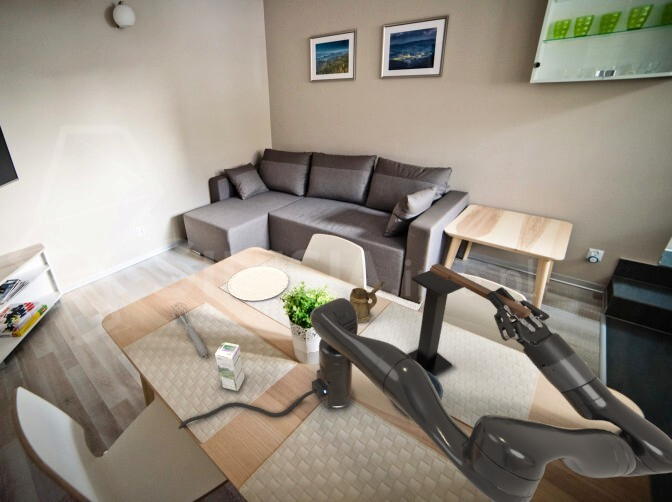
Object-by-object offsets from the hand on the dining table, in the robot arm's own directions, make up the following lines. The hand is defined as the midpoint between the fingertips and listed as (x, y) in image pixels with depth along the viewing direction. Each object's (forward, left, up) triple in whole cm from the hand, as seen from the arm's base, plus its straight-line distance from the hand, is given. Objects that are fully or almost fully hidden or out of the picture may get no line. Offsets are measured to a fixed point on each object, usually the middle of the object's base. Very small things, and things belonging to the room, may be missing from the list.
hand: (494, 291), depth 76 cm
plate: (-27, +88, -38) cm, 100 cm away
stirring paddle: (0, +4, -2) cm, 5 cm away
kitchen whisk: (-63, +70, -38) cm, 102 cm away
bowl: (-11, +8, -38) cm, 41 cm away
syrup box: (-56, +39, -38) cm, 78 cm away
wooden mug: (0, +44, -38) cm, 58 cm away
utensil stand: (+2, +16, -38) cm, 41 cm away
